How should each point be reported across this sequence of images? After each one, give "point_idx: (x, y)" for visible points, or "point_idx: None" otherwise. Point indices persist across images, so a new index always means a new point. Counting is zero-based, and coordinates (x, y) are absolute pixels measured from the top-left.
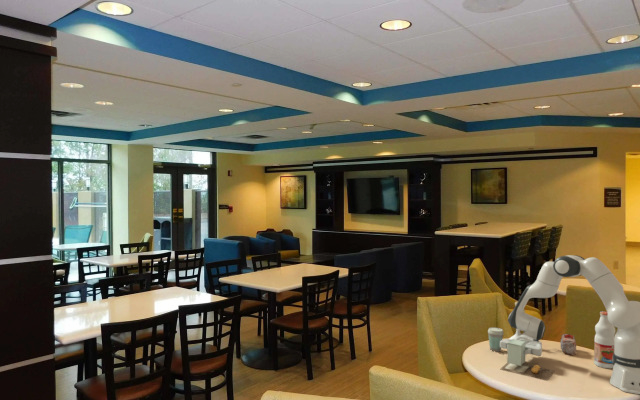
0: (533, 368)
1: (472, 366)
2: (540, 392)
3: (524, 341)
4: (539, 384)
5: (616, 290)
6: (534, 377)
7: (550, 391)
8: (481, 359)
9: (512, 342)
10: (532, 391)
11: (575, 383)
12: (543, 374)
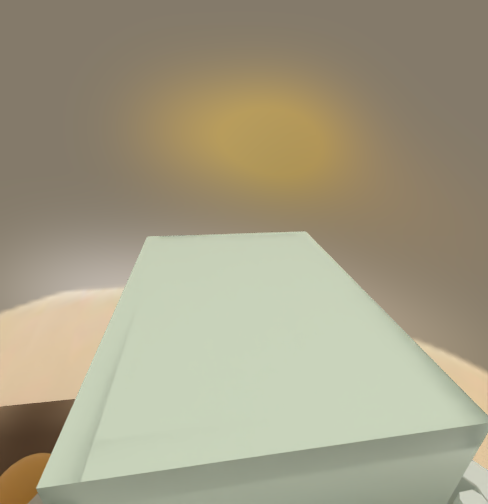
0: (43, 454)
1: (430, 349)
2: (60, 301)
3: (90, 470)
4: (44, 366)
5: None
6: (62, 403)
7: (2, 329)
8: None
9: (287, 260)
10: (94, 294)
11: None
12: None
